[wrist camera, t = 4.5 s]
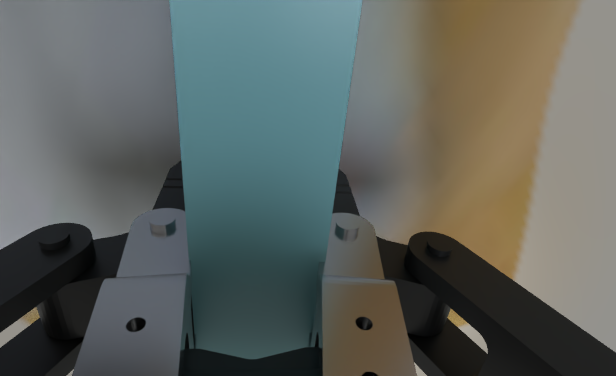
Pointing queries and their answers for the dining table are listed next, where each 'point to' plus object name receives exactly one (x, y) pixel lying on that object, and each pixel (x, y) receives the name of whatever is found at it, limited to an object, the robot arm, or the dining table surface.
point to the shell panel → (260, 160)
